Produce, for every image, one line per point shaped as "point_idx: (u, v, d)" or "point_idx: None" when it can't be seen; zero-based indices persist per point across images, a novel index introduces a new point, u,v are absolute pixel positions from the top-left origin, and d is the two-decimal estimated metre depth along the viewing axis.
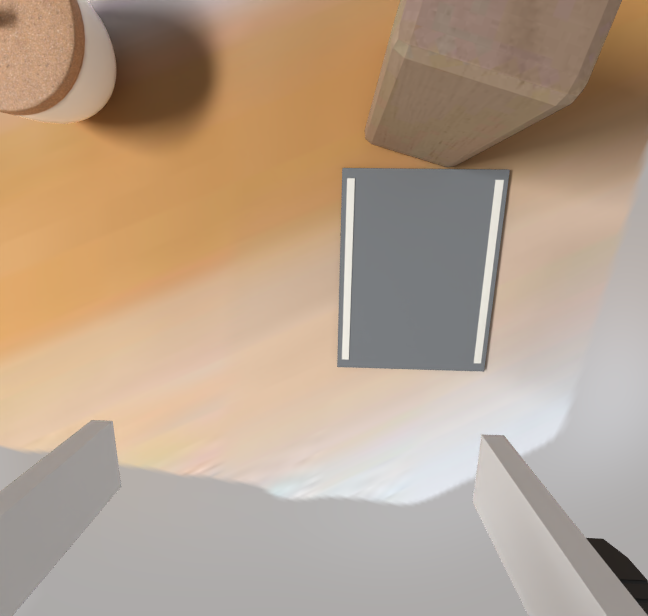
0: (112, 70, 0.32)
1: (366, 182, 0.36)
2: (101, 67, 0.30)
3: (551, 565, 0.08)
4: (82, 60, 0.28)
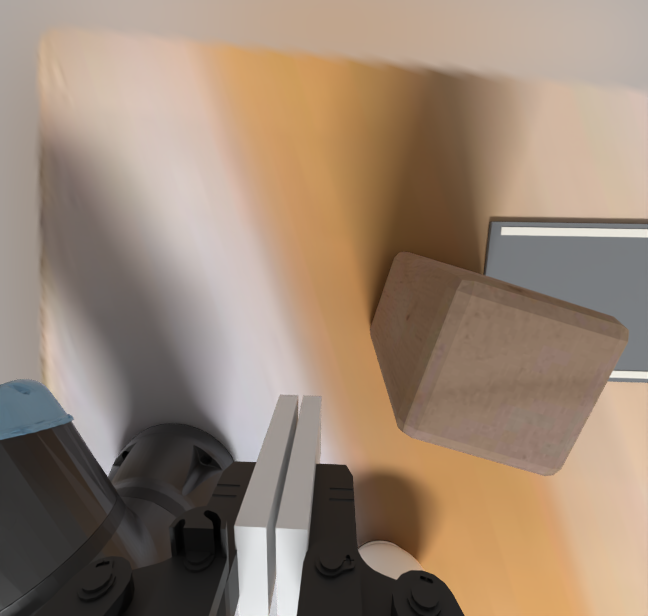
0: (396, 553, 0.41)
1: None
2: (404, 567, 0.39)
3: None
4: None
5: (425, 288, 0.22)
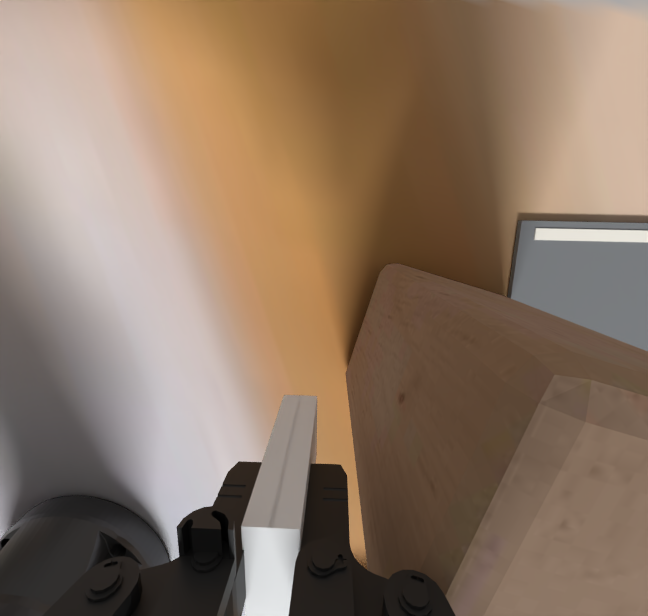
0: None
1: None
2: None
3: None
4: None
5: (438, 353, 0.11)
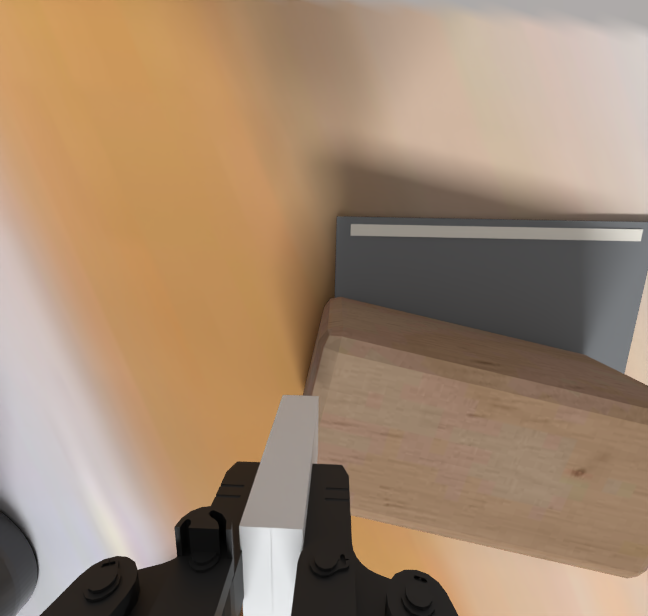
0: None
1: None
2: None
3: None
4: None
5: (630, 436, 0.16)
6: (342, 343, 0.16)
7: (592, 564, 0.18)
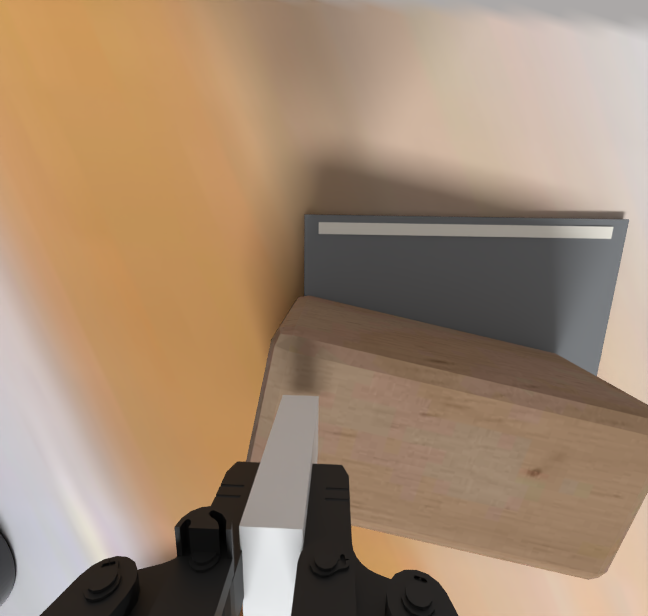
0: None
1: None
2: None
3: None
4: None
5: (585, 436, 0.16)
6: (292, 342, 0.16)
7: (551, 565, 0.18)
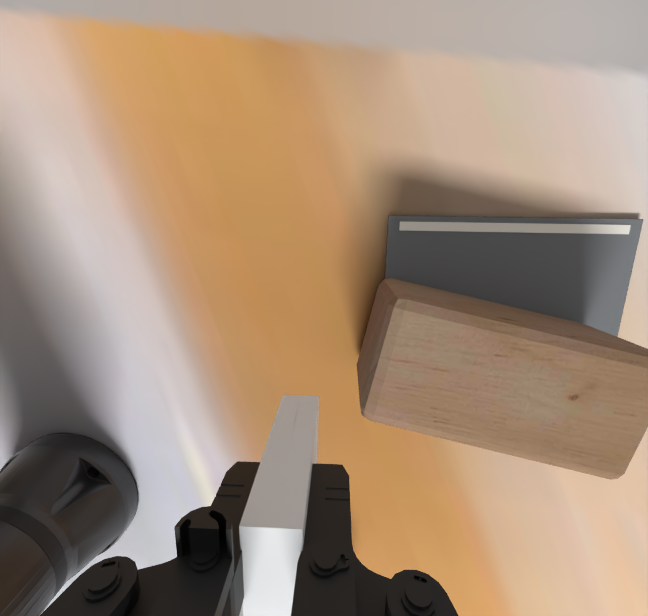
0: None
1: None
2: None
3: None
4: None
5: (610, 371, 0.23)
6: (407, 304, 0.23)
7: (584, 467, 0.25)
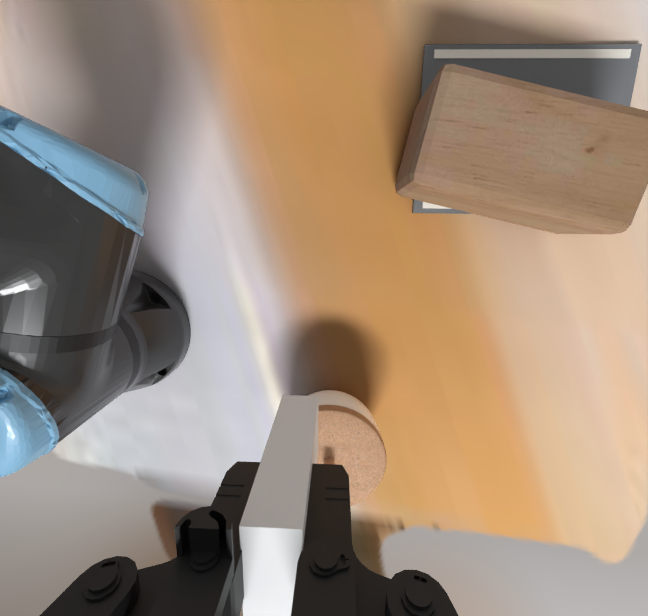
0: (341, 392, 0.42)
1: None
2: (346, 398, 0.40)
3: None
4: (350, 409, 0.38)
5: (620, 123, 0.28)
6: (453, 67, 0.28)
7: (597, 218, 0.30)
